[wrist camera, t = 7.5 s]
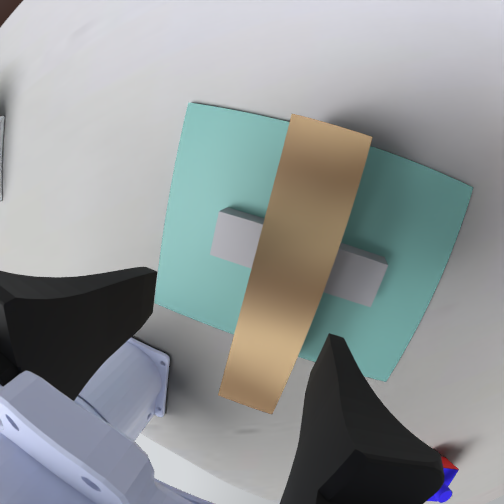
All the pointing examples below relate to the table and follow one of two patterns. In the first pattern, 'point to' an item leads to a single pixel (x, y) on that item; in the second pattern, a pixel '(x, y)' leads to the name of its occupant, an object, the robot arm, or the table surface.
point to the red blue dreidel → (445, 482)
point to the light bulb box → (0, 143)
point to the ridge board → (372, 224)
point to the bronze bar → (293, 257)
